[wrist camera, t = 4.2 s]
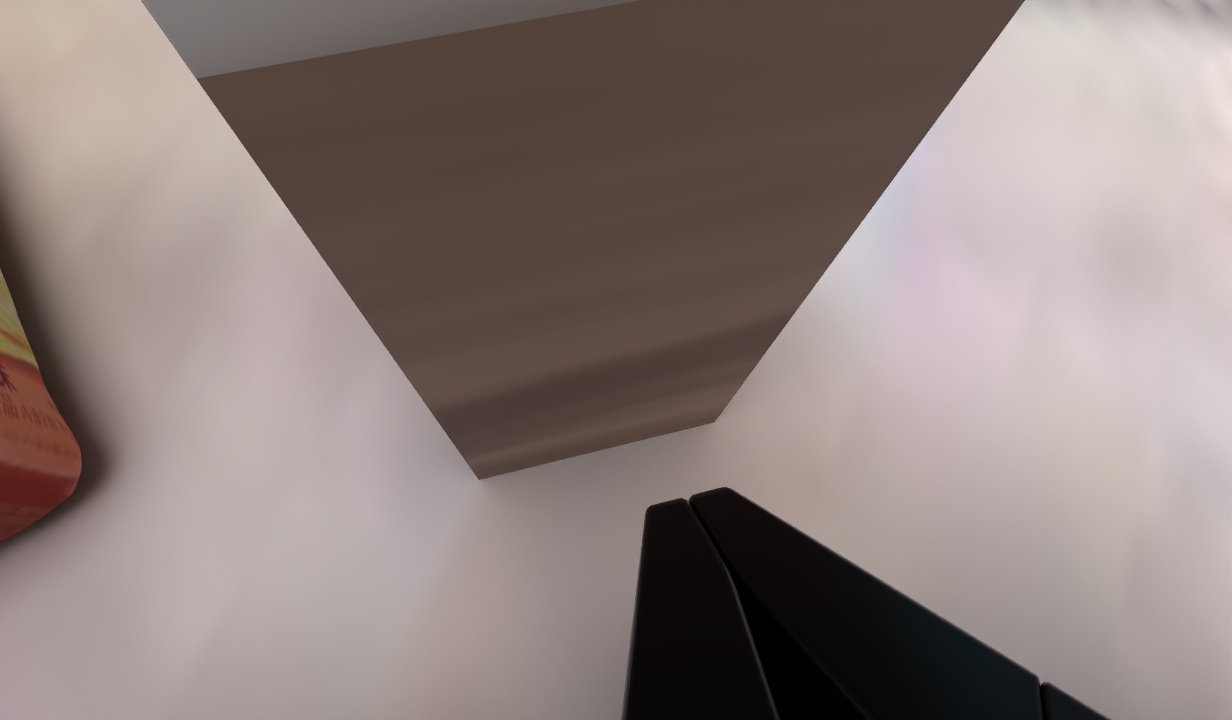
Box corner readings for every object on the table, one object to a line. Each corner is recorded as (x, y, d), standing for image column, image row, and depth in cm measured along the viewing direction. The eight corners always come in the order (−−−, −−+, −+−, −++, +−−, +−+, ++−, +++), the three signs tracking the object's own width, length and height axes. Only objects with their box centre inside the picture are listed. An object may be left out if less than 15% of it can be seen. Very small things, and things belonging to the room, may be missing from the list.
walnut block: (714, 421, 17) (1245, -302, 4) (478, 479, 16) (47, -132, 3) (652, 212, 18) (864, -871, 5) (432, 258, 18) (-3, -836, 4)
